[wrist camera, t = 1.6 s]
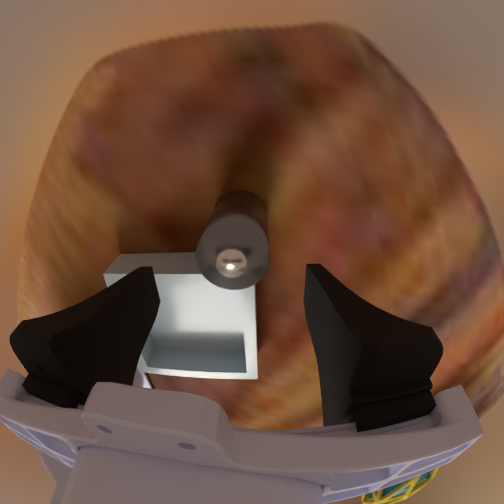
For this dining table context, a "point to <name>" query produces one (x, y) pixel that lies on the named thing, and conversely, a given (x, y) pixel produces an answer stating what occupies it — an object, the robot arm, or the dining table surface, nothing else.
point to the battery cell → (235, 242)
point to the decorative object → (399, 490)
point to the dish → (194, 320)
